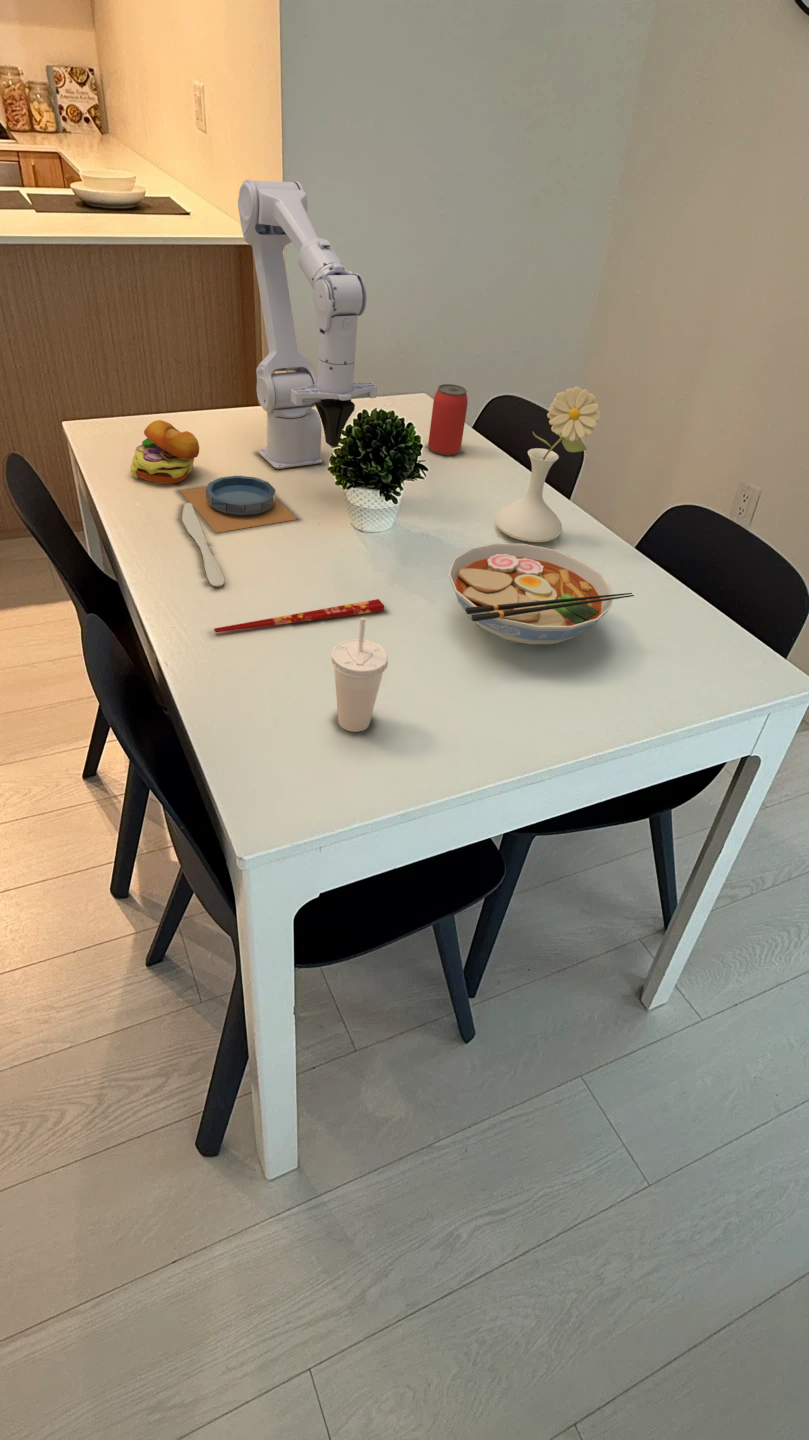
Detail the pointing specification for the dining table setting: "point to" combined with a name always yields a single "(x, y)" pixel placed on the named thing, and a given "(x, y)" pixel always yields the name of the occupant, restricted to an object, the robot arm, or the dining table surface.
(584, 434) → the flower in vase
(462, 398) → the beer can
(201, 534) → the butter knife
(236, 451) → the dining table surface
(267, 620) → the chopstick
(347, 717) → the smoothie
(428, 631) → the dining table surface
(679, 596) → the dining table surface
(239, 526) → the placemat
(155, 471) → the cheeseburger
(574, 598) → the ramen bowl
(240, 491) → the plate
